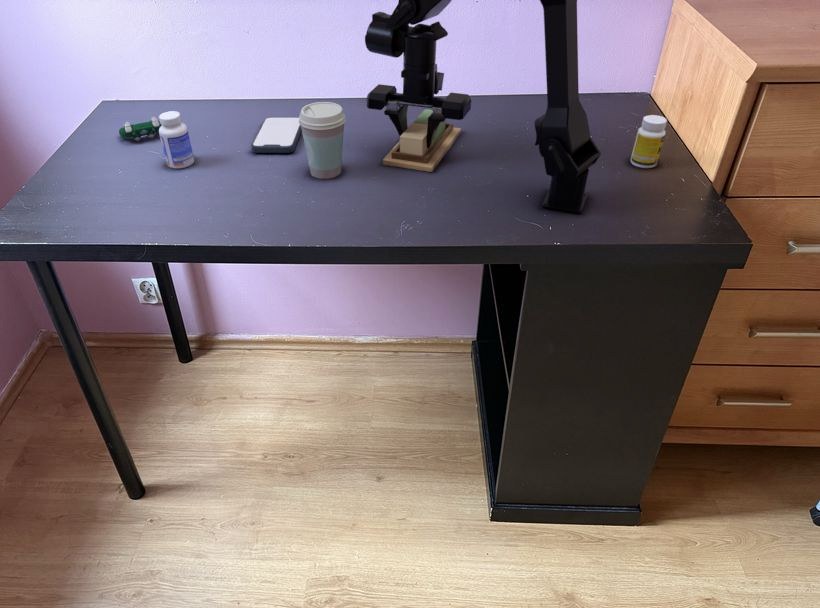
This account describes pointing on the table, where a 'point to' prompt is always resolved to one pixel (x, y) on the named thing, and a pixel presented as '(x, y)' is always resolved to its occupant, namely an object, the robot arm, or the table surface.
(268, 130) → the phone case
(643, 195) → the table surface
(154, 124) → the green toy car
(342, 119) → the coffee cup
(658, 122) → the supplement bottle
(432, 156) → the wooden tray
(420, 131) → the beige rectangular block
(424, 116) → the green rectangular block
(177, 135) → the pill bottle
